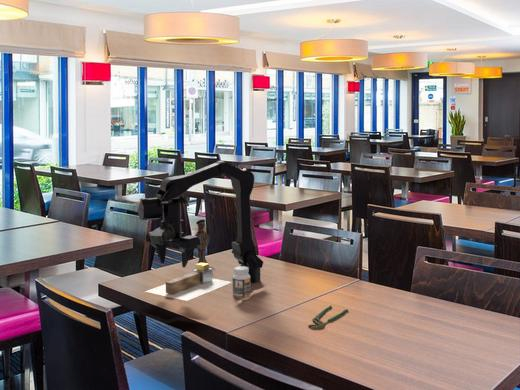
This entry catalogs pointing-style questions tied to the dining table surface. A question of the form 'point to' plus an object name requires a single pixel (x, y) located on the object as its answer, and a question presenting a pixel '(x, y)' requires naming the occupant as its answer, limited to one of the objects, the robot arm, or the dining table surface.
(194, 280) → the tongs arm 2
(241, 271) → the pill bottle
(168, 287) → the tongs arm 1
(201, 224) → the figurine
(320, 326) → the pliers
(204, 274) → the hinge block
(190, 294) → the board
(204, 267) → the block
